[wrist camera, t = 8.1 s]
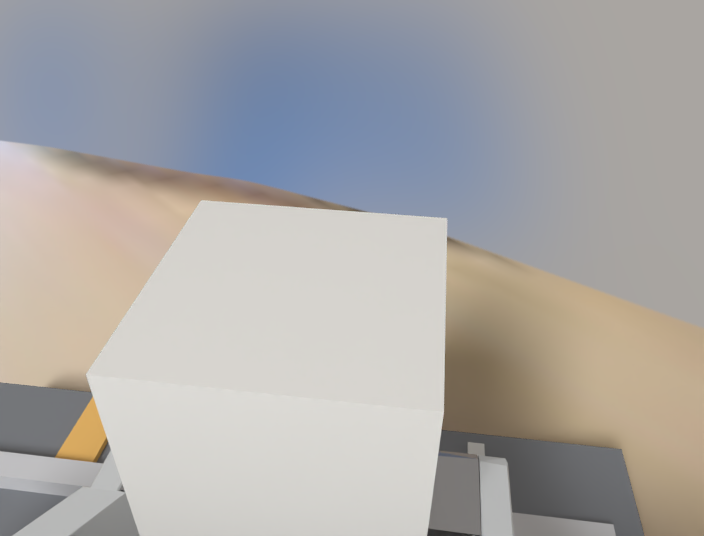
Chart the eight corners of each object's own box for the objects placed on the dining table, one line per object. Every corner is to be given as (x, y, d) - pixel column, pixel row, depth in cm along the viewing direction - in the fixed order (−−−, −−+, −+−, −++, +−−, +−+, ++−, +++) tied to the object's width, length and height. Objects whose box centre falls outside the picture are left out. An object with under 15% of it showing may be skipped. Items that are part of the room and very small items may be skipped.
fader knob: (447, 559, 16) (509, 206, 10) (445, 802, 12) (546, 462, 6) (222, 530, 17) (154, 181, 11) (150, 753, 13) (-24, 398, 7)
